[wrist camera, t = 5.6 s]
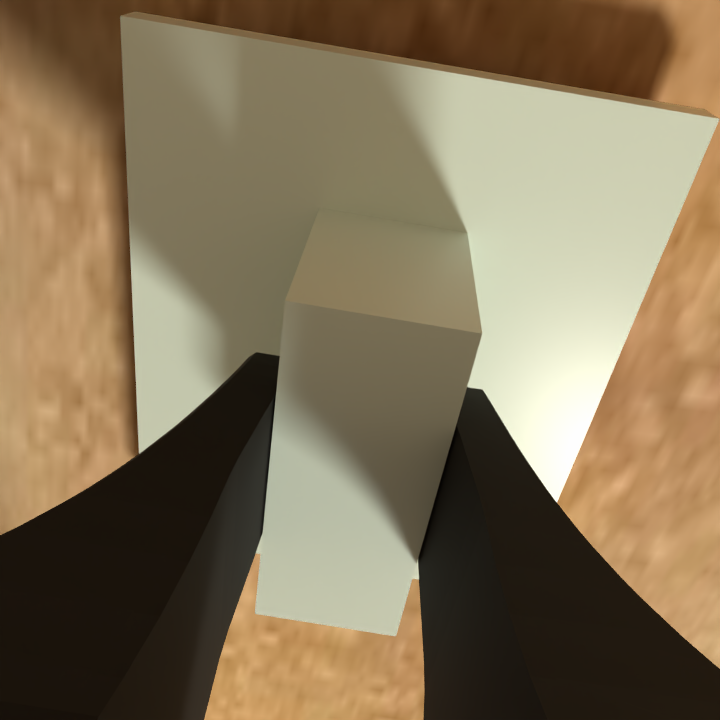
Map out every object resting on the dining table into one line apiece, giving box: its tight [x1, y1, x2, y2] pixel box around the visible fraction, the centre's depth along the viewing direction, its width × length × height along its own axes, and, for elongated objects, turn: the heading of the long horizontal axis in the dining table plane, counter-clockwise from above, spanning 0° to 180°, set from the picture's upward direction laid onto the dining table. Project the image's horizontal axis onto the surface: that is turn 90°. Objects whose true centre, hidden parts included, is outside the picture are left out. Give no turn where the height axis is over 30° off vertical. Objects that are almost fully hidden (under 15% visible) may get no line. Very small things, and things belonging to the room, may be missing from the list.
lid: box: [120, 11, 719, 636], centre depth 12 cm, size 11×9×5 cm
